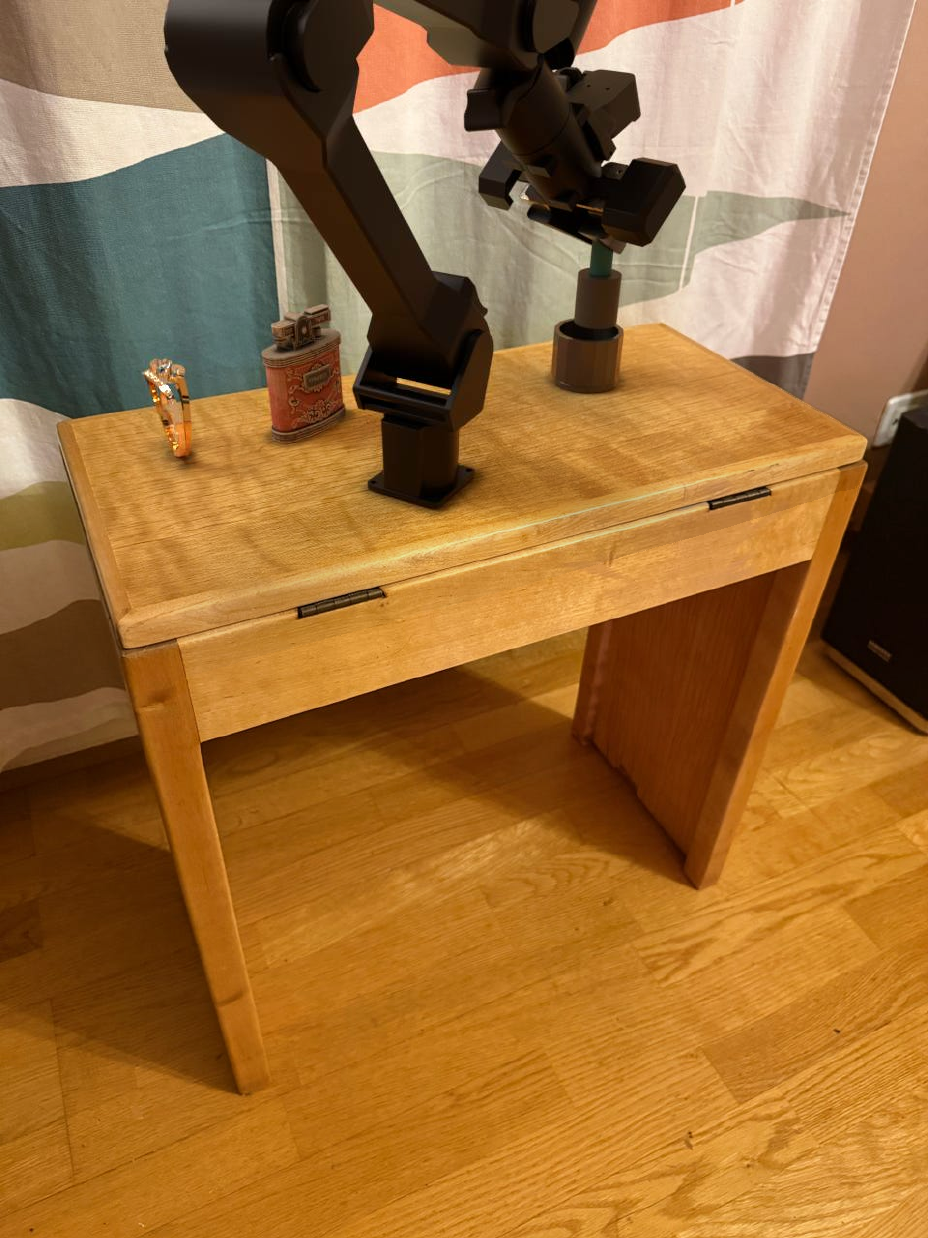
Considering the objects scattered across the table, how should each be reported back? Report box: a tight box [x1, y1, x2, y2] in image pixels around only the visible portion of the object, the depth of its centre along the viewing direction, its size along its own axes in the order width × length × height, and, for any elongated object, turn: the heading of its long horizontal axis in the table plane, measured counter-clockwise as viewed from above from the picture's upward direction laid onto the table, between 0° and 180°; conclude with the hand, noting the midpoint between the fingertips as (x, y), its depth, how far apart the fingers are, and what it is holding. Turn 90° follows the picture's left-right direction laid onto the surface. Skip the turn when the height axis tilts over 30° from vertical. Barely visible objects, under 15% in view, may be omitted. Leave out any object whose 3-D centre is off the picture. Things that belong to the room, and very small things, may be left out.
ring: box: [141, 358, 192, 458], centre depth 74 cm, size 7×3×8 cm, turn 27°
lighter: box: [260, 303, 347, 444], centre depth 78 cm, size 8×3×10 cm, turn 143°
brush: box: [573, 240, 623, 329], centre depth 83 cm, size 4×4×12 cm
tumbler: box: [550, 317, 625, 394], centre depth 88 cm, size 7×7×5 cm
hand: (612, 246), depth 83 cm, fingers closed on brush, 2 cm apart
